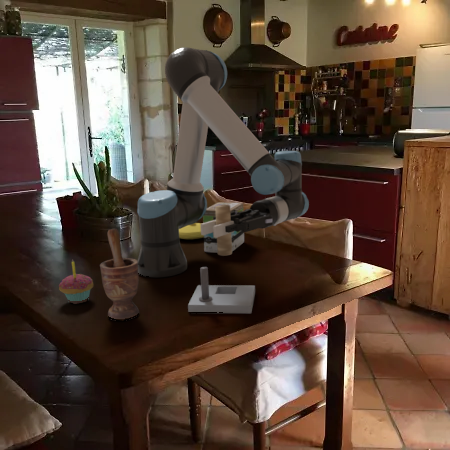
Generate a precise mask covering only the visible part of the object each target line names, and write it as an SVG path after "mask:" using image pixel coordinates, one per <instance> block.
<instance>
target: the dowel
mask: <svg viewBox="0 0 450 450" xmlns="http://www.w3.org/2000/svg"><path fill="white" fill-rule="evenodd" d="M215 211H216V225H219V224H222V223H226V222H229V221H231V216H230V205H217V206H215ZM217 250H218V253H217V255H218V256H221V257H224V256H230V255H232V254H233V251H232V239H231V233H229V234H226V235H223V236H220V237H217Z"/></svg>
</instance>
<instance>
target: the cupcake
mask: <svg viewBox="0 0 450 450" xmlns="http://www.w3.org/2000/svg"><path fill="white" fill-rule="evenodd" d="M71 268H72V274H70V275H67V276H66V277H64V278H63V279H61V281H60V282H59V284H58V287H59V288H58V290H59V291H60V292H61V293H63V294H64V295H65V298H66V299H67V301H68V300H70V301H82V300H85V299H87V298H88V297H90V293H91V290H92V288H94V280H93V279H92V277H90V276H89V275H86V274H82V273H76V264H75V261H74V259H72V260H71ZM88 299H89V298H88Z"/></svg>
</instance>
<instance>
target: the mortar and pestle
mask: <svg viewBox="0 0 450 450" xmlns="http://www.w3.org/2000/svg"><path fill="white" fill-rule="evenodd" d="M107 240H108V243H109V246H110V247H109V248H110V250H111V254H112V258H111V259H107V260H105V261H103V262H101V263H100V264H99V267H100V274H101V282H102V287H103V290H104V292H105V295H106V296H107V298H108V299H109V300H111V301H112V306H110V307H109V309H108V312H107V317H108V316H109V317H111V318H114V319H125V318H130V317H133V316H135V315H137V314H138V313H139V314H140V309H139V308H138V306H137V305H136V304H135V303H134V302H133V298H134V297H135V296H137V295H136V294H137V293H138V289H139V283H140V280H139V279H140V277H139V276H140V274H138V259H135V258H130V257H129V258H128V257H127V258H126V257H123V255H122V248H121V236H120V232H119V229H117V228H111V229H108V231H107Z"/></svg>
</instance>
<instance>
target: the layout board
mask: <svg viewBox="0 0 450 450" xmlns="http://www.w3.org/2000/svg"><path fill="white" fill-rule="evenodd" d="M199 269H200V270H199V272H200V284H198V285H197V286H196V288H195V290H194V293H193V294H192V297H191V298H190V300H189V303H188V304H187V309H188V310H187V313H188V312H217V313H216V314H220V313H219V312H223V313H222V314H252V313H253V312H252V311H253V306H254V302H255V295H256V285H246V284H245V285H241V284H240V285H239V284H237V285H234V284H233V285H231V284H230V285H229V284H228V285H227V284H226V285H224V284H223V285H222V284H221V285H220V284H219V285H218V284H217V285H216V284H214V285H213V284H212V285H211V284H209V283H210V282H209V270H208V269H209V268H208V267H207V266H202V267H200V268H199Z"/></svg>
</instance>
